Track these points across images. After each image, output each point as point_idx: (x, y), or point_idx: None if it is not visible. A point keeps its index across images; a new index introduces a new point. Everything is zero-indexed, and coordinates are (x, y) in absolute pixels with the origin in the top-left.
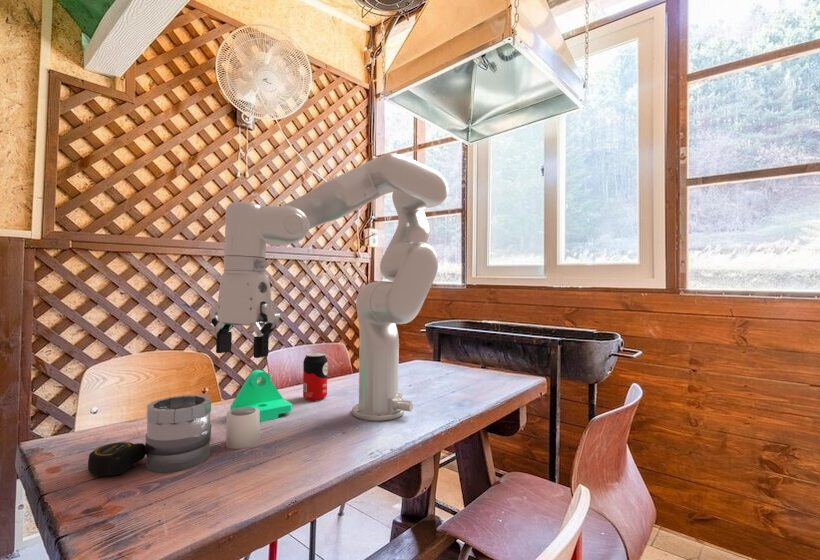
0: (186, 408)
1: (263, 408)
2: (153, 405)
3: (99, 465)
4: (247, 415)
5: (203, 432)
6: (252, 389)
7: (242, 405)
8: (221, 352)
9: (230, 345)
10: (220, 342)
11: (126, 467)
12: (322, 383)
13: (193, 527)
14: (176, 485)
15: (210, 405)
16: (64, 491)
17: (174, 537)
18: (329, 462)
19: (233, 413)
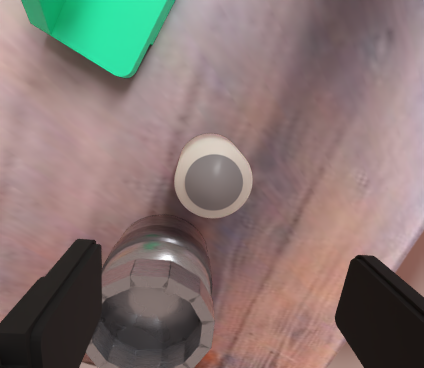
0: (200, 352)
1: (142, 6)
2: (107, 358)
3: None
4: (241, 199)
5: (210, 281)
6: None
7: (62, 6)
8: (101, 300)
9: (89, 268)
10: (80, 359)
11: None
12: None
13: (312, 348)
14: (227, 304)
15: (201, 289)
16: None
17: (306, 362)
18: (402, 181)
19: (207, 209)
